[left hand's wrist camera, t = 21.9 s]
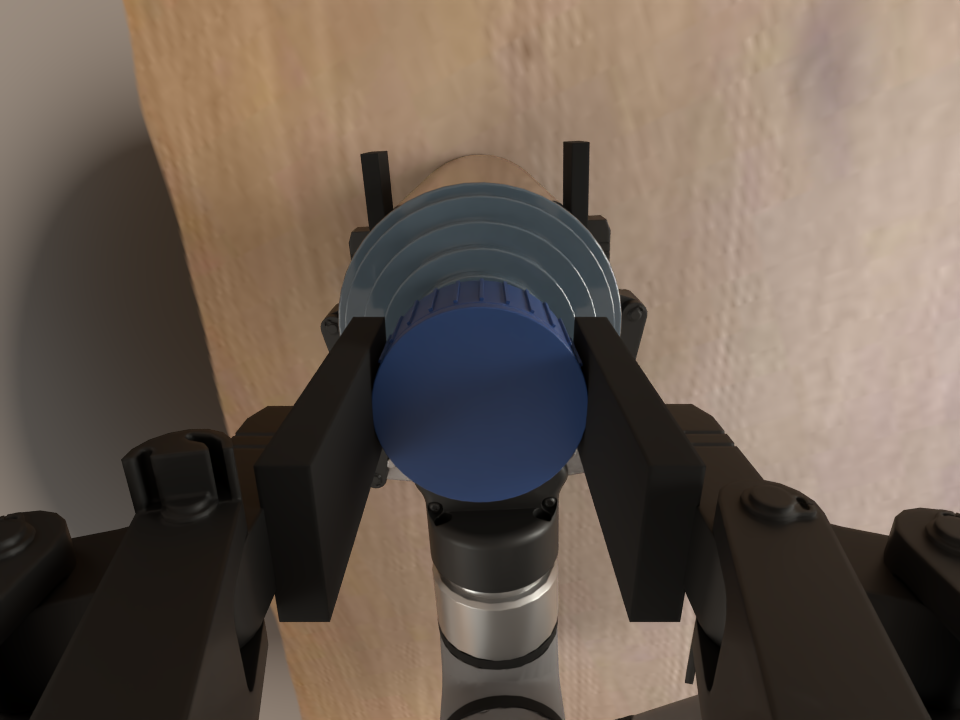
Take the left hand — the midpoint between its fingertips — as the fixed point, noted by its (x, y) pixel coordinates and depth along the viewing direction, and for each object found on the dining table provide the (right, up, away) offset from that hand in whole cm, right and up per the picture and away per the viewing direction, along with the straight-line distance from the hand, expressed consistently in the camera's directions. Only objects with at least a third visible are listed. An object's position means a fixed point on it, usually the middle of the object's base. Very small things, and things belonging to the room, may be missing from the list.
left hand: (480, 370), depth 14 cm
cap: (0, -1, -2) cm, 2 cm away
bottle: (0, +8, +19) cm, 21 cm away
